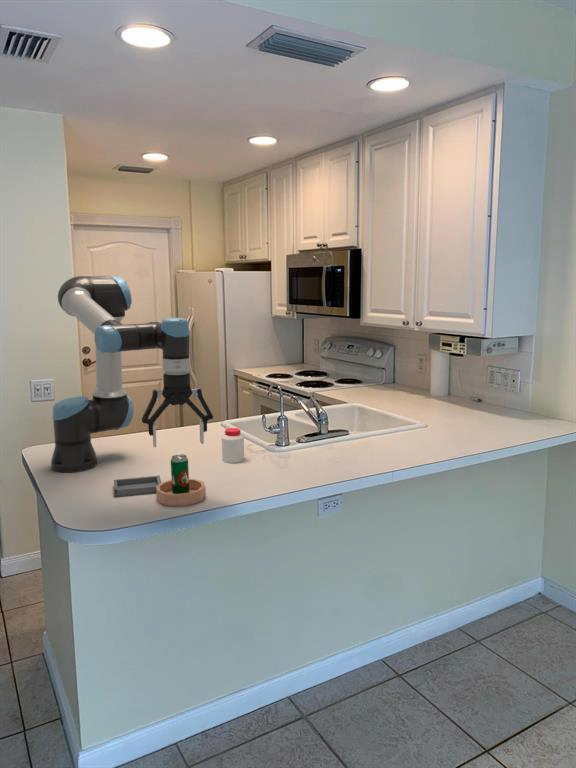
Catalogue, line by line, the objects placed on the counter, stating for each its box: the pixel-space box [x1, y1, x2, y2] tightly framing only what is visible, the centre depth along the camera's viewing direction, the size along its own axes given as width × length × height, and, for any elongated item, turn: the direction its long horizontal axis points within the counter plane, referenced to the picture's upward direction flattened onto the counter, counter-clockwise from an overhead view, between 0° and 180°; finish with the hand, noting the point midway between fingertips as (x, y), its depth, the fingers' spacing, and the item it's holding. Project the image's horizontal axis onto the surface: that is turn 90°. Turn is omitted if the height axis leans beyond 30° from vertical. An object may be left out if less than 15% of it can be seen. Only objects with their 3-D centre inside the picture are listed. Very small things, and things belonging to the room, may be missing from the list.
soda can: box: [170, 453, 190, 494], centre depth 175 cm, size 5×5×12 cm
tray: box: [113, 475, 162, 498], centre depth 183 cm, size 14×10×2 cm
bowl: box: [155, 478, 207, 507], centre depth 176 cm, size 14×14×3 cm
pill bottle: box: [221, 427, 245, 464], centre depth 212 cm, size 8×8×11 cm
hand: (178, 444), depth 174 cm, fingers open, 13 cm apart
